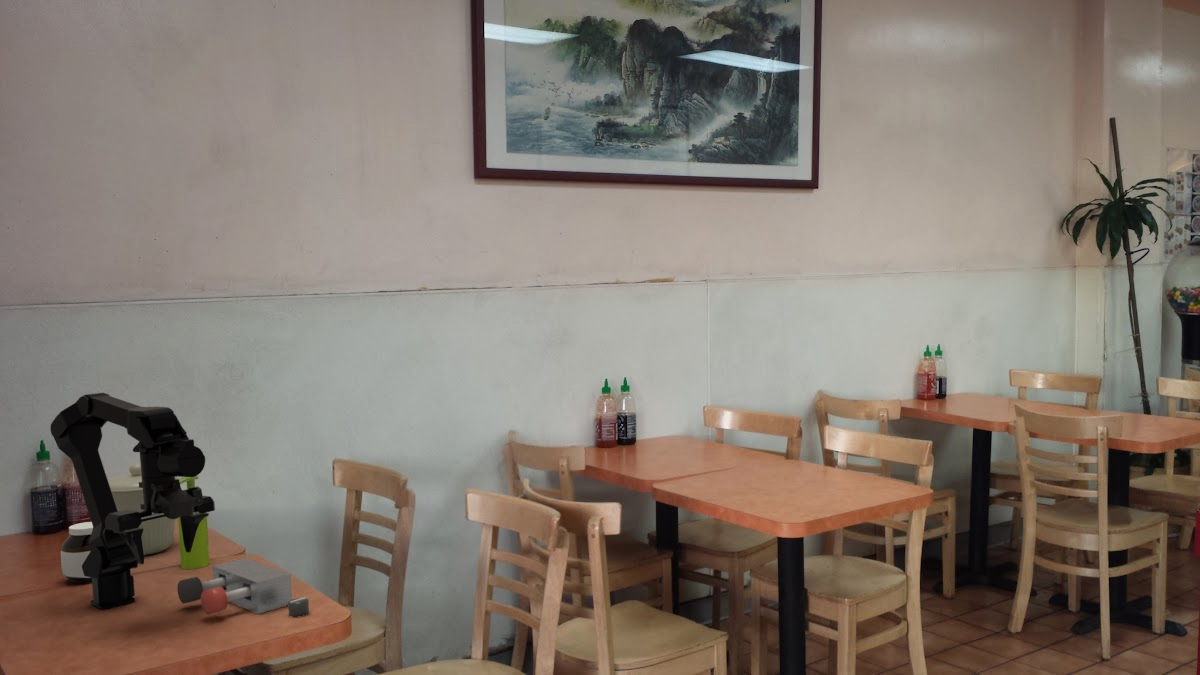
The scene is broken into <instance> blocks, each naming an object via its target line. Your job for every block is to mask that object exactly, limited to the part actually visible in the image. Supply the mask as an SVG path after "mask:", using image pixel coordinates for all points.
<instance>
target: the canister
mask: <svg viewBox="0 0 1200 675" xmlns="http://www.w3.org/2000/svg"><path fill="white" fill-rule="evenodd" d="M180 478H181V477H177V476H175V479H180ZM107 479H108V482H109V486H110V489H111V492H112V495H113V498H114V501H115V504H116V507H117V510H118V512H119V511H124V510H130V511H137V512H142V511H144V510H142V509H141V504H144V499H143V488H139V482H142V476H141V464H140V462H134V463H132V464H131V465H130V466H129V473H125V474H119V475H115V476H111V477H107ZM155 514H156V513H155ZM175 524H176V519H169V518H167V517H161V518H157V519H152V520H147V521H143V522H142V523H141V524H140V526H139V528H142V529H144V530H143V533H142V545H143V553H144V556H148V555H152V554H157V553H160V552H163V551H165V550H167V549H168V548H169V547H170V546H171V545H172V542H173V540H174V535H175Z"/></svg>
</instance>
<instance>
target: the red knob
mask: <svg viewBox="0 0 1200 675" xmlns="http://www.w3.org/2000/svg"><path fill="white" fill-rule="evenodd" d="M248 596H251V587H250V586H248V587H244V588H240V589H236V590H232V591H229V592H225V590H224V589H223V588H222V587H216V588H212V589H208V590H204V591H202V593H201V599H200V605H201V608H202V611H203V612H204V613H205V614H206V615H211V614H214V613H218V612H219V613H220V612H223V611H225V610H226V609H227V606H228V602H229V601H233V600H236V599H240V598H244V597H248ZM229 603H230V602H229Z"/></svg>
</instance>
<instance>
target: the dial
mask: <svg viewBox="0 0 1200 675" xmlns="http://www.w3.org/2000/svg"><path fill="white" fill-rule="evenodd" d="M287 608H288V616H289V617H290V616H292V617H291V618H299V617H298V616H302V617H304V616H303V615H305V616H307V615H309V614H310V606H309V599H308V598H307V596H306V597H298V598H292V600H290V601H289V602H288V606H287ZM308 613H309V614H308ZM306 614H307V615H306Z"/></svg>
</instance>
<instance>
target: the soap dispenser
mask: <svg viewBox="0 0 1200 675" xmlns="http://www.w3.org/2000/svg"><path fill="white" fill-rule="evenodd" d="M179 478H180V479H179V482H180V485H181V484H182V485H183V483H186V490H187V489H189V488H192V487H196V481H195V480H198V479H199V475H197V476H195V477H179ZM206 513H208V512H206ZM177 520H178V533H179V534H178V536H179V537H178V538H179V553H180V568H181V569H184V570H197V569H201V568H205V567H207V566H209V565H210V551H209V549H210V548H209V532H208V529H209V528H208V516H207V517H205V518H204V519H203V520H202V521H201V522H200V524H199V526H198V528H197V531H196V534H195V538H194V542H193V545H192V549H191V552H186V550H185V546H184V541H183V534H182V527H181V520H180V517H179V518H177Z"/></svg>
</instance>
